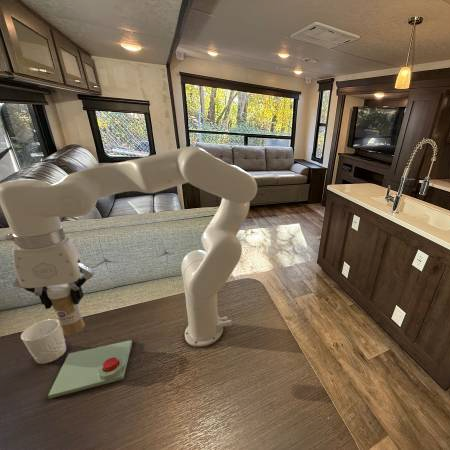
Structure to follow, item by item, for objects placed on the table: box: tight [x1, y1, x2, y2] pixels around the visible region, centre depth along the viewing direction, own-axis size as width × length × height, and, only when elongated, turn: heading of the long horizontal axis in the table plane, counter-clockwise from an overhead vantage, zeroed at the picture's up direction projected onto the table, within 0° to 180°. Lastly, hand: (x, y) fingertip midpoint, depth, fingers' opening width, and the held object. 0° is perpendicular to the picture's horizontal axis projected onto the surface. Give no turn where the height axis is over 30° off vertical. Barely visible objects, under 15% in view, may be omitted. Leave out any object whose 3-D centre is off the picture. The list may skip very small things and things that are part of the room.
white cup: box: [20, 318, 67, 365], centre depth 72 cm, size 8×8×10 cm
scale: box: [47, 339, 133, 399], centre depth 71 cm, size 16×13×3 cm
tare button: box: [103, 357, 118, 372], centre depth 69 cm, size 3×3×2 cm
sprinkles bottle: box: [47, 283, 86, 336], centre depth 62 cm, size 5×5×13 cm
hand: (64, 302), depth 61 cm, fingers closed on sprinkles bottle, 4 cm apart
